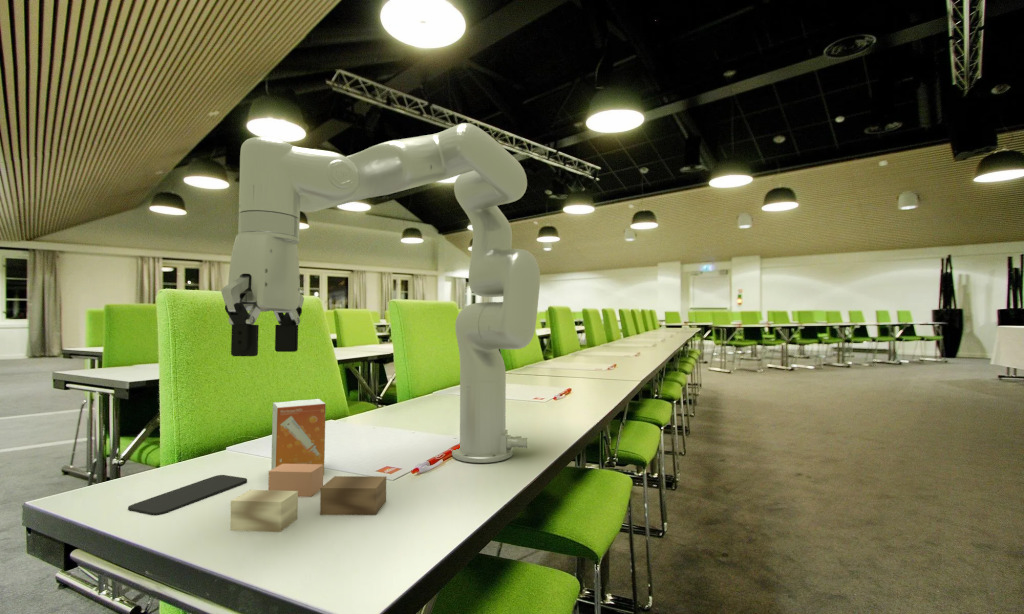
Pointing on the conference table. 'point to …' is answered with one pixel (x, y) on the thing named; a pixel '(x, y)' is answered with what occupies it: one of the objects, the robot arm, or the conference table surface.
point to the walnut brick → (353, 495)
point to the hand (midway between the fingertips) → (267, 353)
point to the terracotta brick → (297, 478)
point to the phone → (187, 495)
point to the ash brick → (264, 510)
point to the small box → (298, 432)
